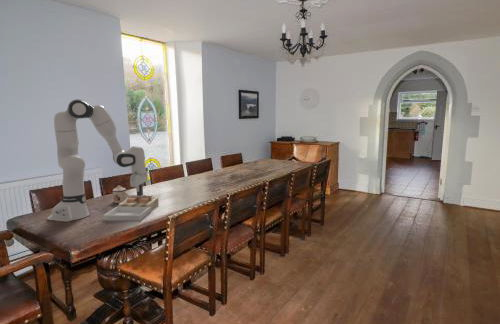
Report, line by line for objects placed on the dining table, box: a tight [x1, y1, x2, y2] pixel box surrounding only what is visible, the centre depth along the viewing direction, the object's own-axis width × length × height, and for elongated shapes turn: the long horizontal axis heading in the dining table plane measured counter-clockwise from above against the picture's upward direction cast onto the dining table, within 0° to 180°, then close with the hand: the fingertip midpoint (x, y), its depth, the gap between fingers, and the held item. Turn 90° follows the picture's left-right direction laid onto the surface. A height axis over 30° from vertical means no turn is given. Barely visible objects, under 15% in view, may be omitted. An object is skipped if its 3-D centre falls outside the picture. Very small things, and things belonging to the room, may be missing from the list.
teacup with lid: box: [112, 185, 129, 204], centre depth 212 cm, size 12×9×12 cm
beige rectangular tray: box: [118, 196, 160, 211], centre depth 199 cm, size 20×17×5 cm
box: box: [102, 205, 152, 222], centre depth 182 cm, size 22×17×4 cm
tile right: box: [139, 197, 149, 202], centre depth 196 cm, size 5×5×2 cm
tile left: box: [127, 197, 138, 202], centre depth 197 cm, size 5×5×2 cm
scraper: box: [127, 184, 153, 200], centre depth 199 cm, size 16×3×10 cm, turn 88°
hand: (139, 190), depth 199 cm, fingers closed on scraper, 3 cm apart
